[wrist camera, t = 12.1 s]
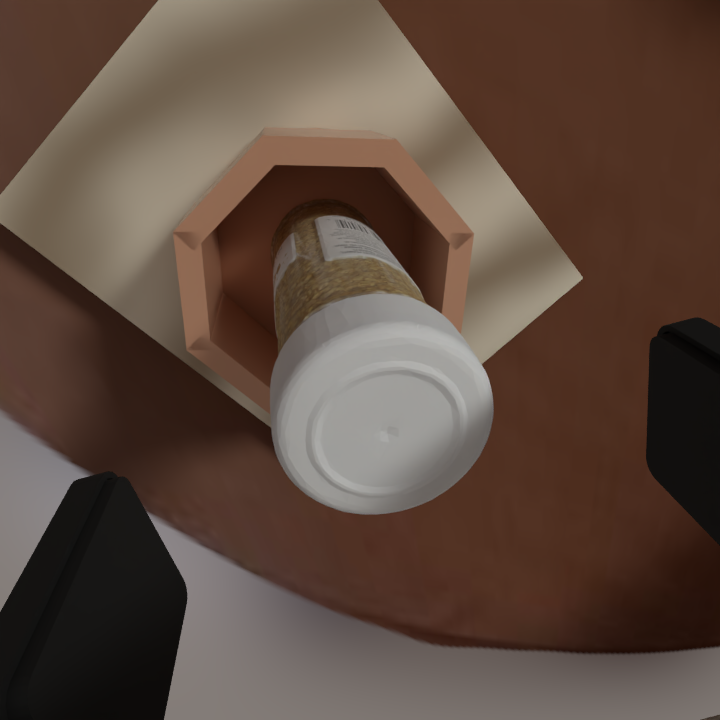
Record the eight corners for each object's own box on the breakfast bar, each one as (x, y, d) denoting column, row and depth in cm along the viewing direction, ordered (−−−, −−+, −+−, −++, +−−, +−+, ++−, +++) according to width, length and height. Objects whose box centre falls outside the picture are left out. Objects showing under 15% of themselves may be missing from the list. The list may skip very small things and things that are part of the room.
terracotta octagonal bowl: (467, 248, 24) (520, 290, 19) (316, 386, 26) (327, 458, 21) (316, 69, 20) (331, 60, 15) (152, 248, 22) (114, 295, 17)
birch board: (567, 269, 27) (583, 278, 25) (339, 465, 30) (342, 481, 29) (273, -125, 18) (273, -142, 17) (3, 205, 22) (-14, 212, 20)
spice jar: (247, 247, 22) (217, 434, 10) (331, 171, 21) (412, 275, 9) (320, 323, 24) (370, 557, 12) (401, 257, 23) (541, 435, 11)
